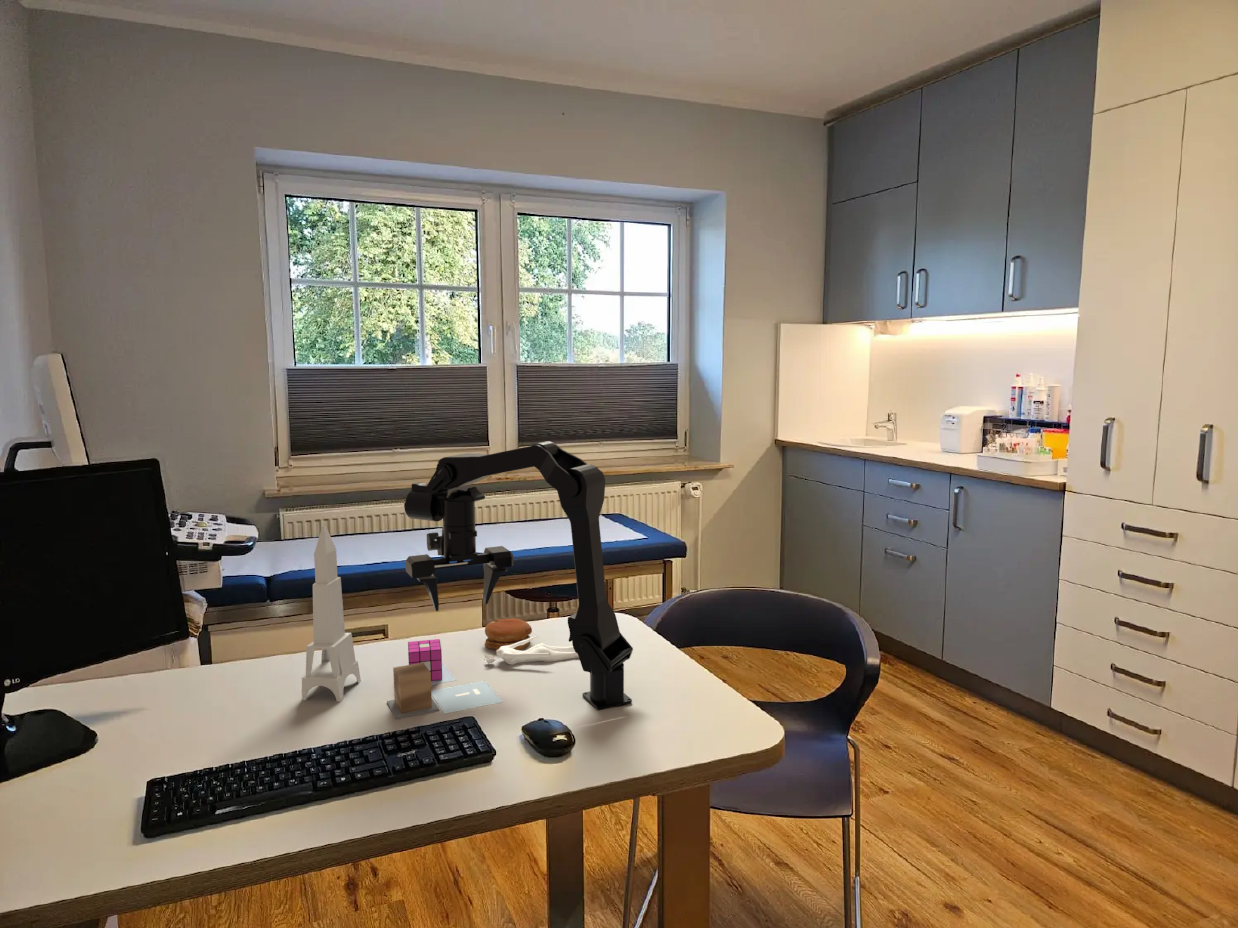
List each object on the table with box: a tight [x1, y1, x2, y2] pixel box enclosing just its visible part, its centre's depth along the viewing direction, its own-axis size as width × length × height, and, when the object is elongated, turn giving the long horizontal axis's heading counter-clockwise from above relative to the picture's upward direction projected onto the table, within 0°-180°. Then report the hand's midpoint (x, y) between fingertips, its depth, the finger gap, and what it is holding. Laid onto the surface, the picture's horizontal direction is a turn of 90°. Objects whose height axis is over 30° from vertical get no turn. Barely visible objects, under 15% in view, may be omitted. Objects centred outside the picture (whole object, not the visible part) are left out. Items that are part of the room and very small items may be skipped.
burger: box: [484, 617, 533, 651], centre depth 164 cm, size 10×9×5 cm
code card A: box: [431, 680, 504, 715], centre depth 138 cm, size 10×10×1 cm
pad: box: [386, 698, 440, 720], centre depth 134 cm, size 7×7×1 cm
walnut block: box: [392, 663, 433, 714], centre depth 134 cm, size 5×5×6 cm
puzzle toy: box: [407, 638, 443, 681], centre depth 147 cm, size 6×6×6 cm
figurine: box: [483, 635, 579, 666], centre depth 156 cm, size 10×4×25 cm
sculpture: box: [301, 522, 362, 703], centre depth 139 cm, size 7×8×30 cm
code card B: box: [431, 662, 457, 686], centre depth 147 cm, size 9×9×1 cm
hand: (461, 607), depth 149 cm, fingers open, 9 cm apart
